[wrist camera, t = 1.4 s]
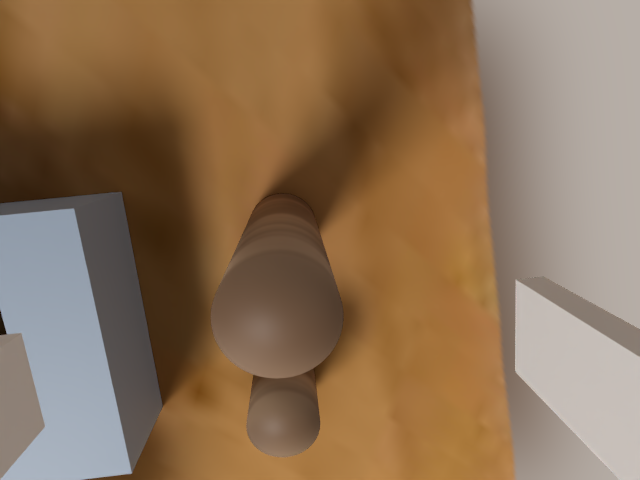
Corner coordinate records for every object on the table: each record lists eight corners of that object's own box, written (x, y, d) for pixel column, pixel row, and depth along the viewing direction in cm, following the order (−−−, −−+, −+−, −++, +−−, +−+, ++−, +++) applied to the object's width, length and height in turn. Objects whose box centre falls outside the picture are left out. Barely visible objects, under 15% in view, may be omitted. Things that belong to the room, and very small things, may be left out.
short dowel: (249, 353, 29) (242, 397, 24) (311, 346, 29) (316, 388, 24) (257, 408, 30) (251, 461, 25) (317, 401, 30) (323, 452, 25)
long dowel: (245, 197, 27) (201, 262, 13) (312, 190, 27) (338, 248, 13) (253, 262, 28) (220, 385, 14) (319, 255, 28) (348, 370, 14)
